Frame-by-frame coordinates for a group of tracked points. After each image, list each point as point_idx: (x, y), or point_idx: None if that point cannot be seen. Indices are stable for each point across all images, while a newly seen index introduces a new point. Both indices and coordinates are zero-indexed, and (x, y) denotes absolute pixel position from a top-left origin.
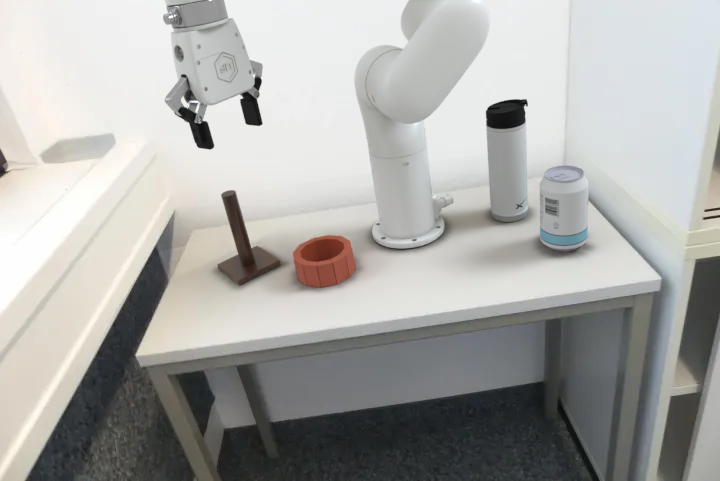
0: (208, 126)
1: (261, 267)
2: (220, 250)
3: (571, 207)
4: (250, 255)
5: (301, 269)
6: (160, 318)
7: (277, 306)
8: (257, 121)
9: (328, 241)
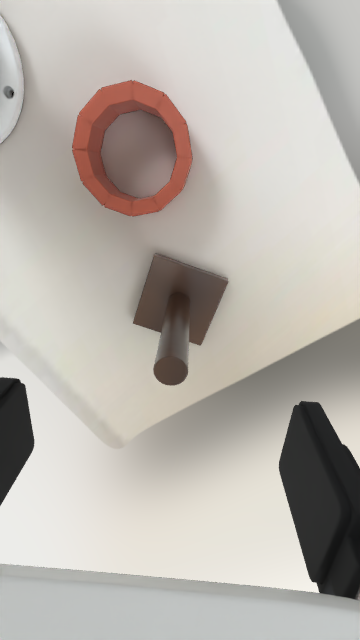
0: (335, 484)
1: (184, 270)
2: None
3: None
4: (179, 298)
5: (190, 165)
6: (329, 331)
7: (258, 173)
8: (14, 395)
9: (94, 171)
